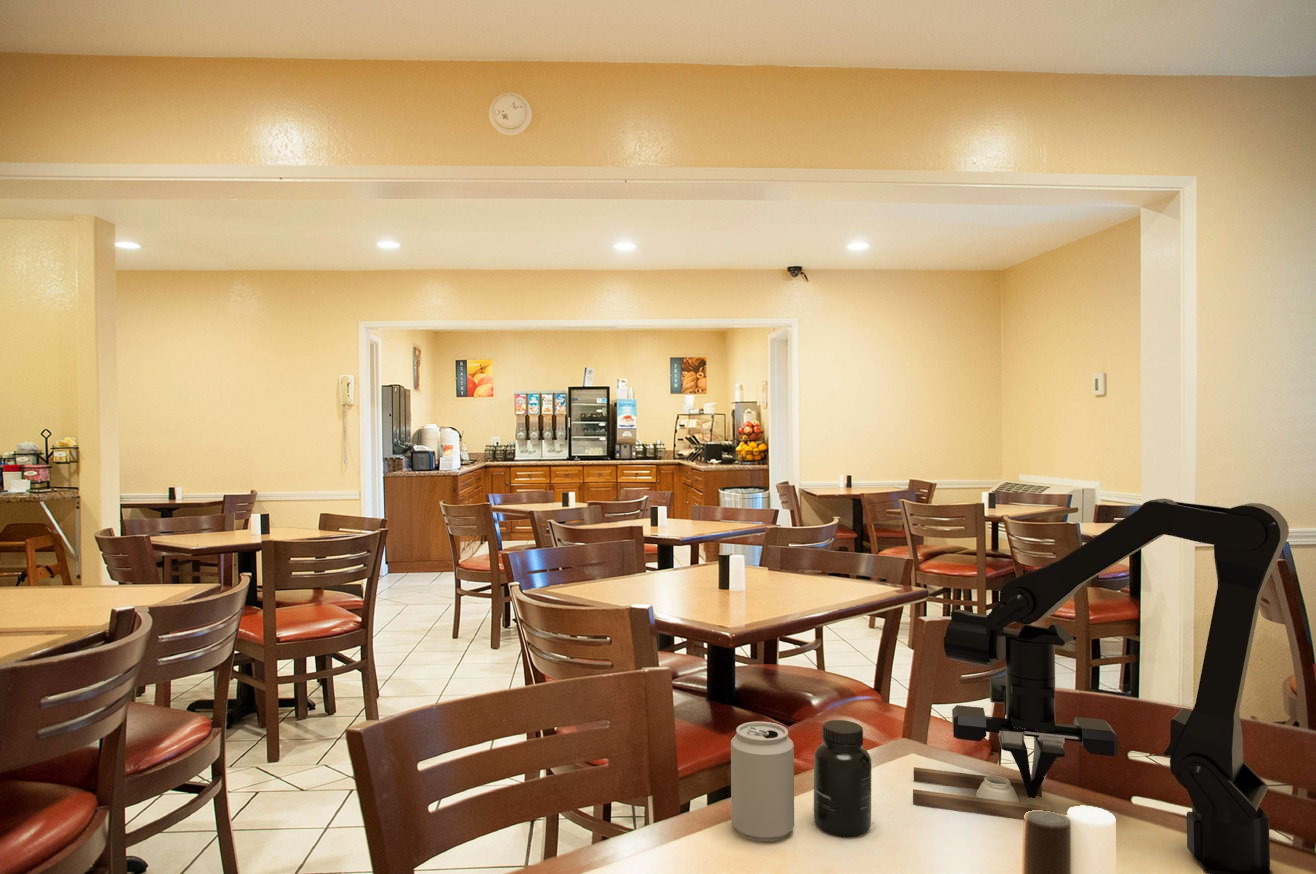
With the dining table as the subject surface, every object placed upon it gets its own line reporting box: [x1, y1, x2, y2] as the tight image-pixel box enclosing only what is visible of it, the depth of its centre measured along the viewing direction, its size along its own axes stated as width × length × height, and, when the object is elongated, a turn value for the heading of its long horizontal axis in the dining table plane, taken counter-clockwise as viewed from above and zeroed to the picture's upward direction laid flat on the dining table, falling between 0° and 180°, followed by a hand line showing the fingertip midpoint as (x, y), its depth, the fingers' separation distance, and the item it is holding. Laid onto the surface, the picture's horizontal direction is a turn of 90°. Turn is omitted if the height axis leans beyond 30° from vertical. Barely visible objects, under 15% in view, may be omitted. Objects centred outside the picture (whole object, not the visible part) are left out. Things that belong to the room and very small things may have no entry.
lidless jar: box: [975, 774, 1020, 803], centre depth 101 cm, size 5×3×5 cm
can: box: [730, 721, 795, 842], centre depth 94 cm, size 8×8×12 cm
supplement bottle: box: [813, 719, 872, 839], centre depth 95 cm, size 7×7×12 cm
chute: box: [912, 766, 1052, 821], centre depth 102 cm, size 16×9×2 cm, turn 71°
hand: (1031, 796), depth 100 cm, fingers closed
